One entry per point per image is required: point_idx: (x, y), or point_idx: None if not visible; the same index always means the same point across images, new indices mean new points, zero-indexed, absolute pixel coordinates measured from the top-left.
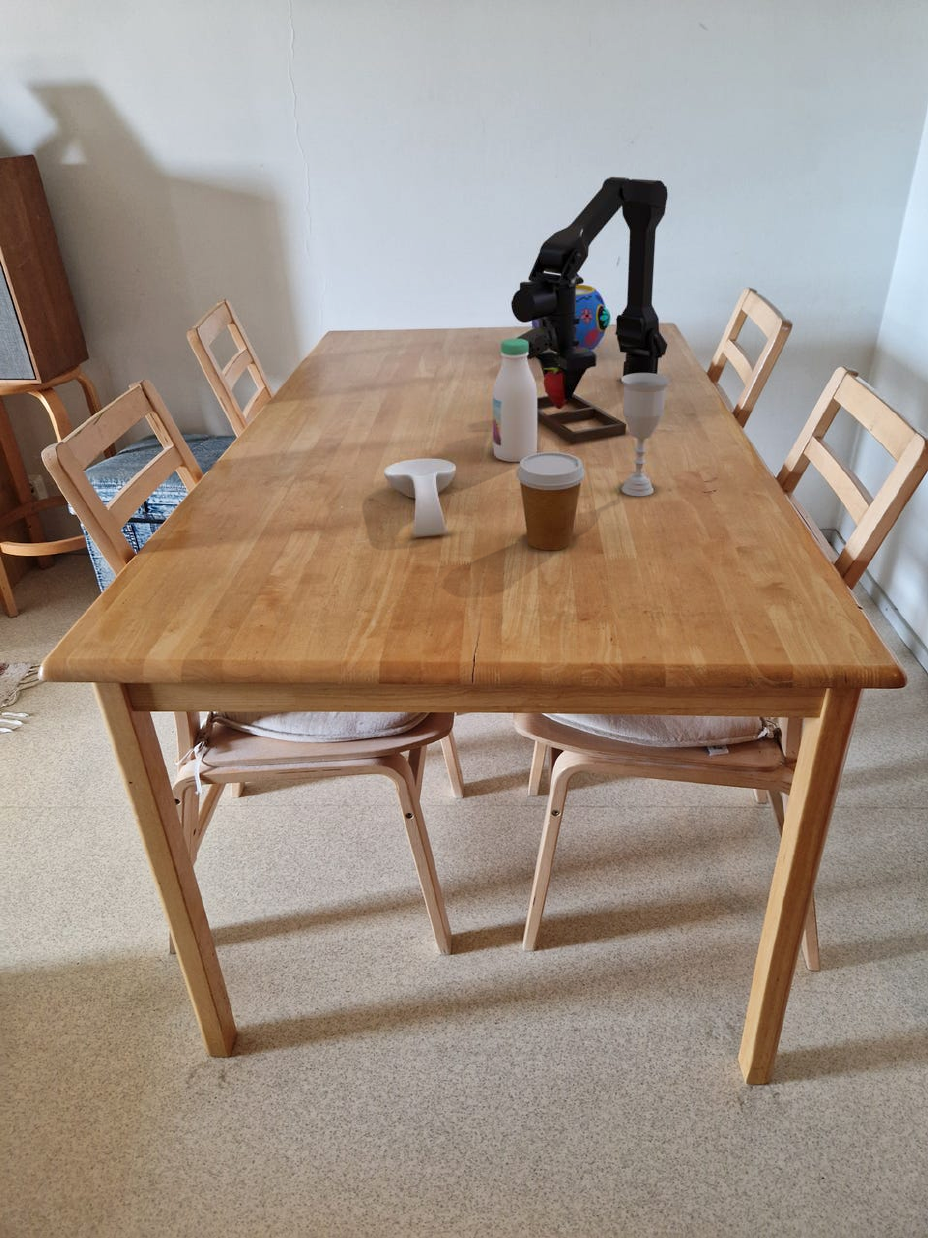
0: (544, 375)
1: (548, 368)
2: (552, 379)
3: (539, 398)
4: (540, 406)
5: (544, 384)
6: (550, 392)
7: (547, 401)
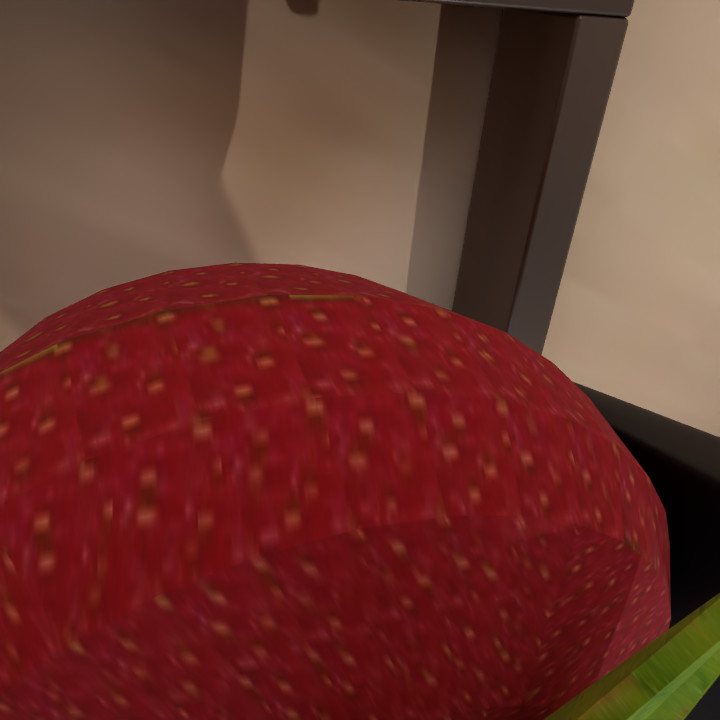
0: (709, 455)
1: (667, 693)
2: (78, 567)
3: (530, 229)
4: (475, 209)
5: (365, 300)
6: (101, 301)
7: (482, 305)
